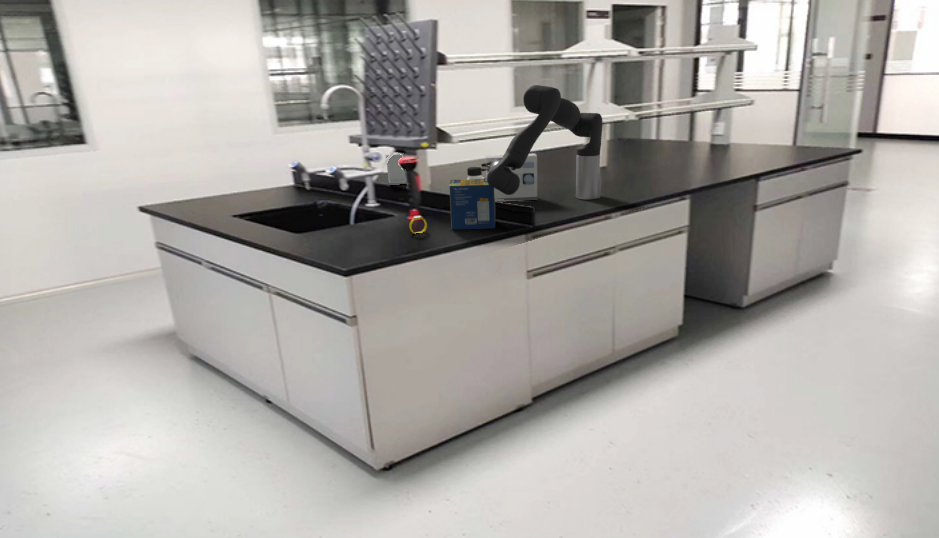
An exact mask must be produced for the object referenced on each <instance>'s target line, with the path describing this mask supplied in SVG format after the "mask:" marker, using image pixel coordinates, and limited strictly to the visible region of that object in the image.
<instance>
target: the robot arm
mask: <svg viewBox="0 0 939 538" xmlns="http://www.w3.org/2000/svg"><path fill="white" fill-rule="evenodd" d="M523 105H524V108H525V109H526V110H527V112H529V113H531V114H535V115H537V116H536V117H535V118H534V119H533V120H532V122H531V123H529V124H528V125H527V126H525V127H524V128H522V129H520V131H518V132H517V134H516V135H514V137H513V138H512V139H511V141H510V143H509V144H508V147H507V149H506V150H505V152H504V154H503V155H504V156H503V157H502V159H501V158H498V159H495V160H493V161H492V162H487V163H486V162H483V163H481V170H482V172H486V171H489V173H488V175H487V182H488V184H489V185H490V186H492V187H494V188H495V189H497V190H499V191H501V192H502V193H504V194H506V195H512V194H514V193H515V192H516V191H517V190H518V188H519V185H520V179H519V177H518V175H516V174H515V173H514V172H512V171H511V170H516V169H520V168H521V167H522V166H523V165H524V163H525V161H526V159H527V157H528V155H529V154H531V153H530V152H531V151H532V149H533V147H534V145H535V143H536V142H537V140H538V139H539V138H540V136H541V135H542V133H543V132H544V131H545V130H546V128H547V127H548V125H549V123H550V122H552V123H555V125H558V126H560V127H561V128H564V129H565V130H566V129H567V130H568V131H570V132H571V133H572V134H573V135H575V136H577V137H579V138H589V142H587V143H586V144H583V145H580V146H578V147H577V148H576V166H575V167H576V168H575V169H576V170H575V171H576V172H575V173H576V174H575V175H576V176H575V197H576V198H577V199H580V200H596V199H601V189H602V187H601V185H602V181H601V180H602V175H601V174H602V173H600V171H601V148H602V137H603V136H602V135H603V117H602V115H601V113H598V112H581V110H580V108H579V106H578V105H577V104H576V103H574V102H572V101H571V100H569V99H567V98H564V97H562V95H561V92H560V90H559V89H558V88H556V87H554V86H553V87H552V86H547V85H540V84H534V85H531V86H529V87H528V88H527V89H526V90H525V92H524V95H523Z"/></svg>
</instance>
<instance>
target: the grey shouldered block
mask: <svg viewBox="0 0 939 538" xmlns="http://www.w3.org/2000/svg"><path fill="white" fill-rule="evenodd" d="M390 153H391V152H389V153H385V159H386V158H387V157H388V156H389V155H390ZM394 153H395V154H394V155H393V156H392V157H391V158H390V159H389V161H388V163H386V169H387V178H388V179H387V180H388V184H389V183H405V182H406V180H407V176H406V177H405V172H404V171H403V170H402V169H401V167H400V166H399V165H398V160H399V159H400V158H402V155H400V154H397V153H398V152H394Z"/></svg>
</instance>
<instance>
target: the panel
mask: <svg viewBox="0 0 939 538" xmlns="http://www.w3.org/2000/svg"><path fill="white" fill-rule="evenodd" d="M503 156H504V154H493V155H492V154H491V155H485V163H487V162H492V161H493V160H495V159H498V158H501V159H502V157H503ZM511 171H512V172H514V173H515V174H516V175H518V177H519V179H520V185H519V188H518V190H517V191H516V192H515V193H514V194H512V195H506V194H504V193H502V192H501V191H499V190H497V189H495V188H494V196H495V199H504V200H537V201H538V155H537V153H536V152H534V153H529V155H528V157H527V159H526V161H525V163H524V165H523V166H522V167H521V168H520V169H516V170H511ZM488 173H489V171H485V176H486V177H485V179H487V175H488ZM525 174H531V175H532V177H533V178H534V182H533V183H532V184H531V185H527V184H526V183H525V181H524V175H525Z"/></svg>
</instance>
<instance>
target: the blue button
mask: <svg viewBox="0 0 939 538" xmlns="http://www.w3.org/2000/svg"><path fill="white" fill-rule="evenodd" d="M524 181H525V183H526V184H527V185H531V184H532V183H533V182H534V178H533V177H532V175H531V174H525V175H524Z"/></svg>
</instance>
